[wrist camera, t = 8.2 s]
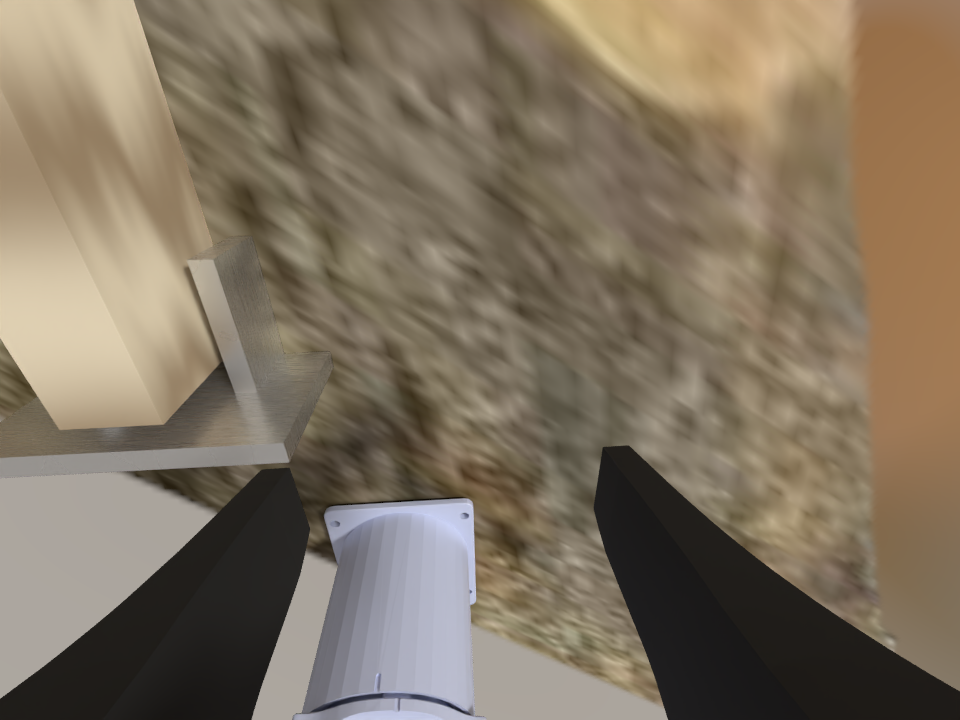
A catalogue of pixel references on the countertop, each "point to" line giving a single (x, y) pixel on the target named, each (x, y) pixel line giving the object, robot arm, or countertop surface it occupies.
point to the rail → (96, 219)
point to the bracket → (196, 393)
